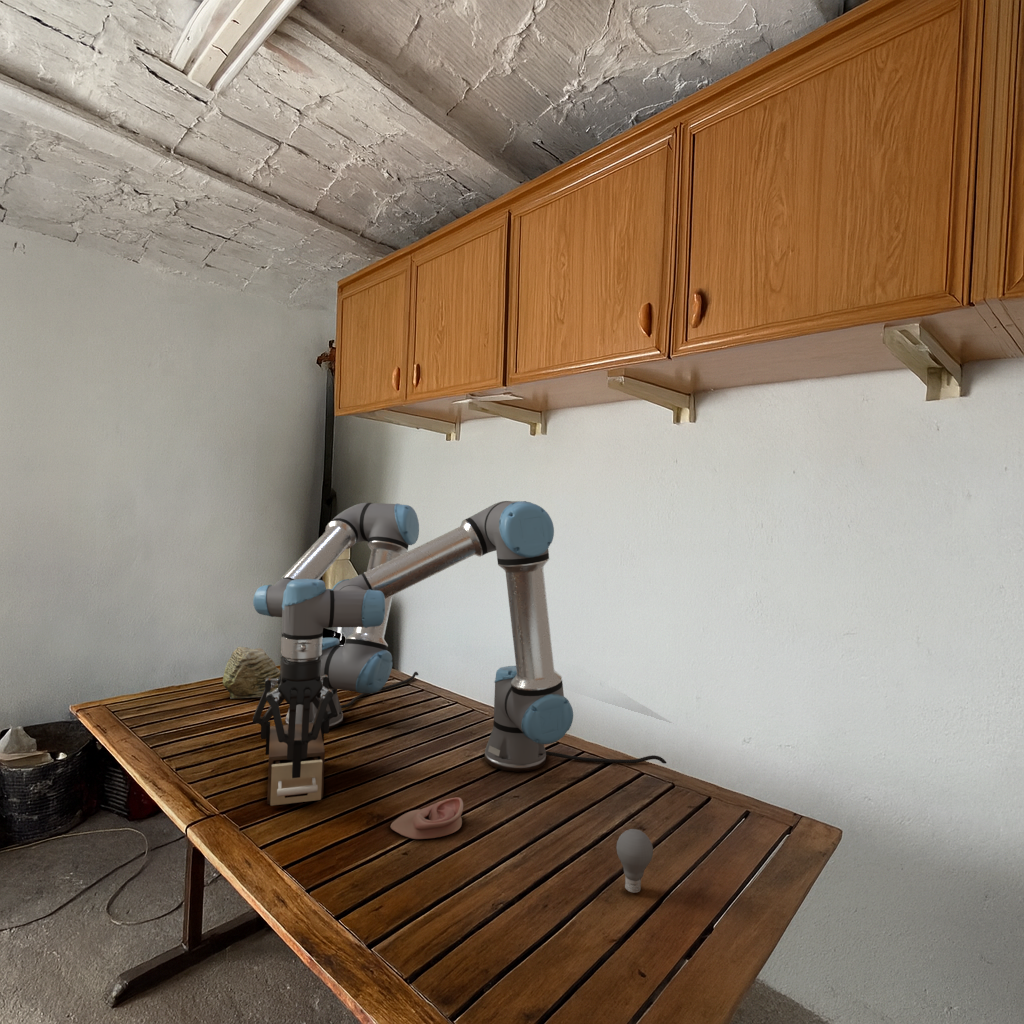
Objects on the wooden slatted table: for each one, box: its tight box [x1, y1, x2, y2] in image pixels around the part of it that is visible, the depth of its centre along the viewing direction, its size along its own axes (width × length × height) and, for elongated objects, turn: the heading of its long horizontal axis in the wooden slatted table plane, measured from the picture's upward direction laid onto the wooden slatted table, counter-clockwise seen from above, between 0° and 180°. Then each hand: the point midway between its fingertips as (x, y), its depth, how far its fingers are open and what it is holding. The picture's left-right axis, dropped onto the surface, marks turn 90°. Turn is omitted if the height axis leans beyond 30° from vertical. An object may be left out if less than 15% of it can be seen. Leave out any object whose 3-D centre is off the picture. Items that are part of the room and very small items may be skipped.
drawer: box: [269, 756, 322, 807], centre depth 134 cm, size 22×10×8 cm, turn 20°
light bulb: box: [615, 828, 654, 894], centre depth 106 cm, size 6×6×10 cm
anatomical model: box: [390, 797, 464, 840], centre depth 124 cm, size 13×4×12 cm
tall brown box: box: [266, 723, 326, 805], centre depth 140 cm, size 18×11×10 cm, turn 20°
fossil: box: [222, 646, 280, 699], centre depth 198 cm, size 9×18×15 cm, turn 132°
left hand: (294, 749), depth 145 cm, fingers closed on tall brown box, 11 cm apart
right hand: (296, 774), depth 126 cm, fingers closed
